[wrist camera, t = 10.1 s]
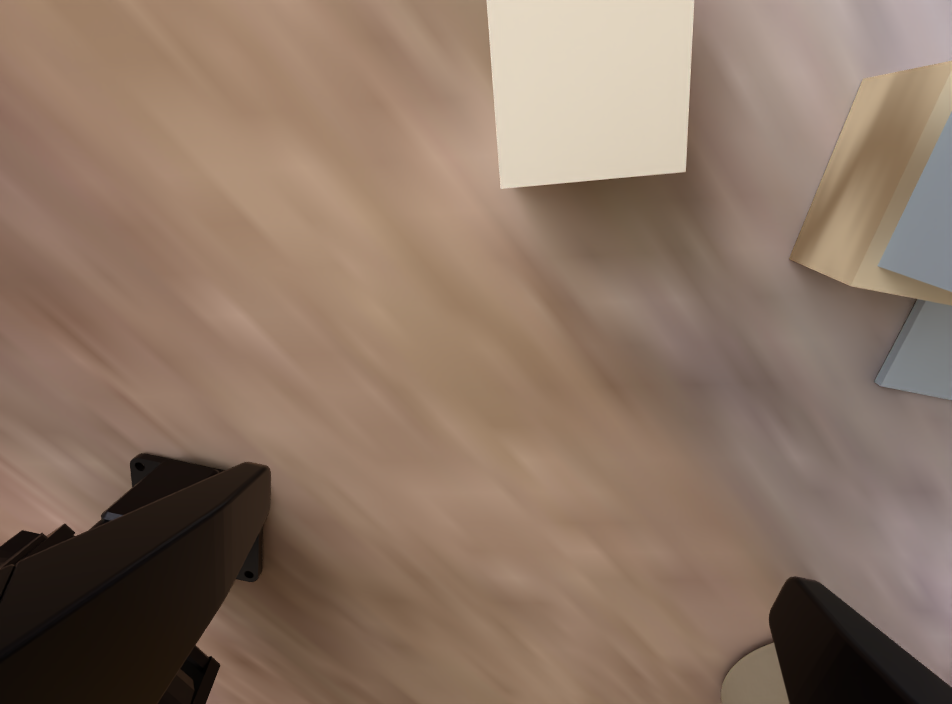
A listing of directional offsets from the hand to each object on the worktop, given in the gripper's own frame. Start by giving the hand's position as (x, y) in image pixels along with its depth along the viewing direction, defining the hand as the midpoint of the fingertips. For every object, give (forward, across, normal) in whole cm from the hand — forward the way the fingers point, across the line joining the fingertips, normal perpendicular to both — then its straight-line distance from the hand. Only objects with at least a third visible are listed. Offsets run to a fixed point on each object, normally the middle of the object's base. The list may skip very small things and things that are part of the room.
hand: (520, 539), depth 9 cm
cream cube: (+13, 0, -8) cm, 15 cm away
